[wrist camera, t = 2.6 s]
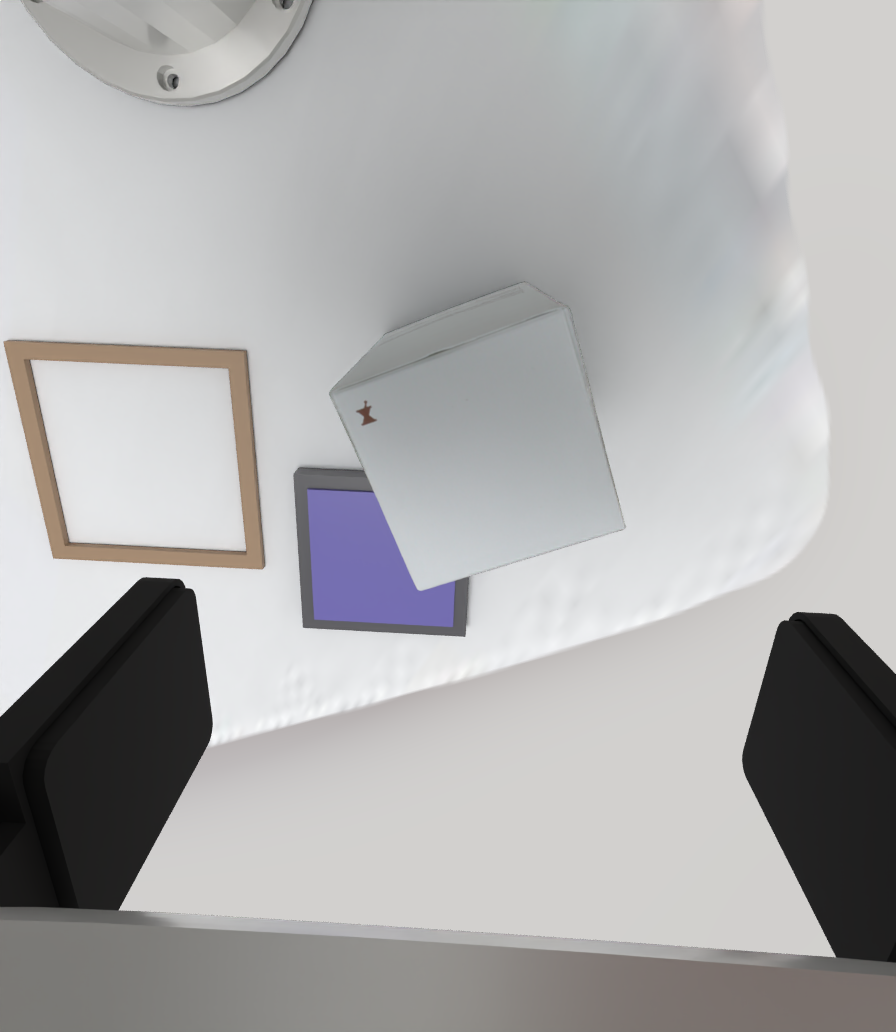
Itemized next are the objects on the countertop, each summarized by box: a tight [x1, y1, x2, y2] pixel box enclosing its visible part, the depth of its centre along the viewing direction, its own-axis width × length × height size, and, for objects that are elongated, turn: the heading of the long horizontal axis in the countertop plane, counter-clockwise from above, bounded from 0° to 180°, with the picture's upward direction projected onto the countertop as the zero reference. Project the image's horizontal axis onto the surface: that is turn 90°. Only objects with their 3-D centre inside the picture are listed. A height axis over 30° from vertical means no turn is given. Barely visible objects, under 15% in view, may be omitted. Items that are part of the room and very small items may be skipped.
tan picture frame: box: [4, 340, 265, 569], centre depth 33 cm, size 12×12×1 cm
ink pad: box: [294, 468, 469, 637], centre depth 34 cm, size 9×9×1 cm
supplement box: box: [329, 282, 626, 591], centre depth 25 cm, size 7×7×13 cm
